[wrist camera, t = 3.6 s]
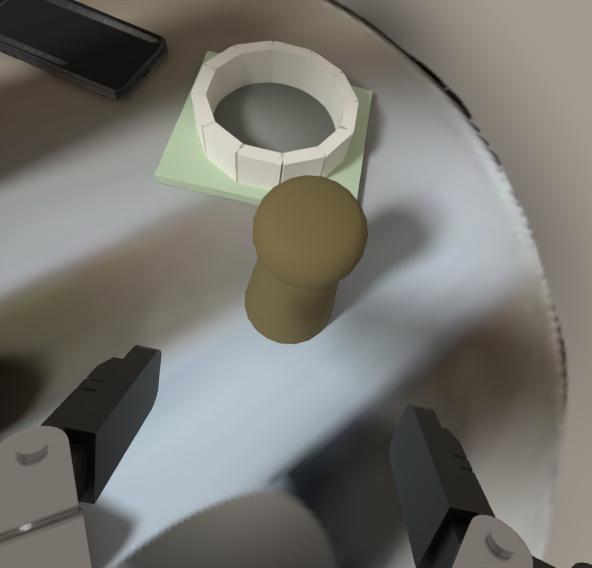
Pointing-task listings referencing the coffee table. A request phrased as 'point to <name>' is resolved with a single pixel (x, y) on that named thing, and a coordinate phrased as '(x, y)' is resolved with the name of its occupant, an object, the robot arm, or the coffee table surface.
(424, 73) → the coffee table surface
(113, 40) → the phone
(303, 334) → the cork
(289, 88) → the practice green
